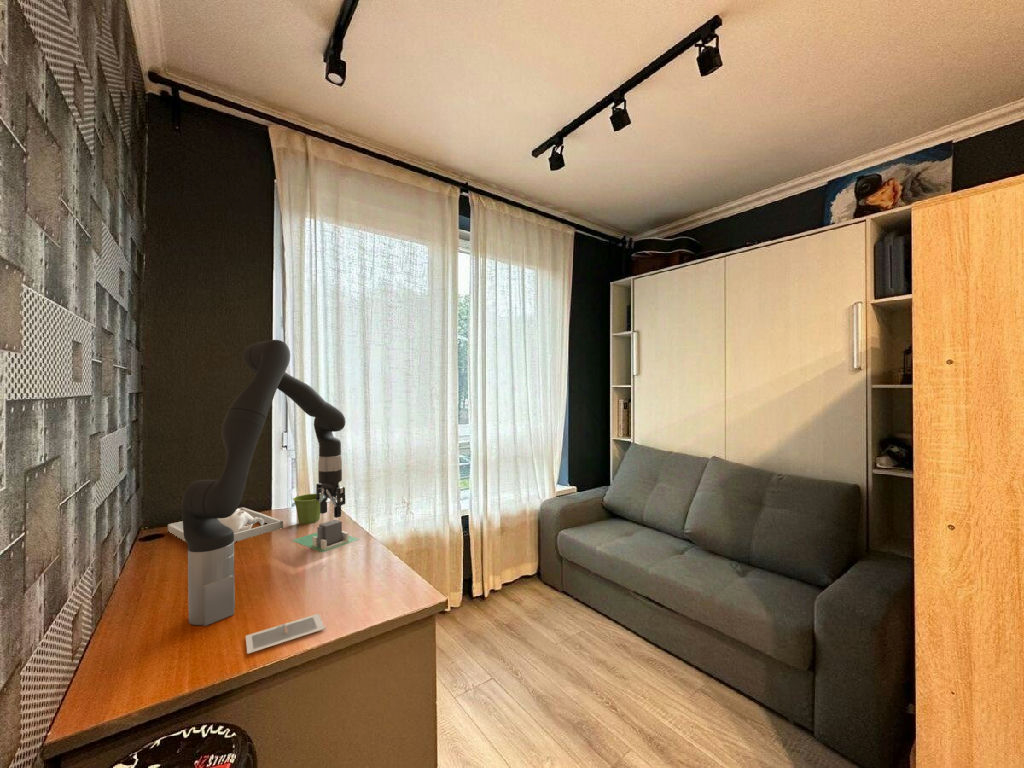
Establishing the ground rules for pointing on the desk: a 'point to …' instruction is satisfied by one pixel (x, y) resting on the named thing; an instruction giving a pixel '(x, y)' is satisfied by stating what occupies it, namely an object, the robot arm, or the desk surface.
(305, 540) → the board
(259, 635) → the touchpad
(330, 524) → the plug
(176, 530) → the light grey flat tray
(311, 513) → the plant pot
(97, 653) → the desk surface
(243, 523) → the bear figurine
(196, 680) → the desk surface
